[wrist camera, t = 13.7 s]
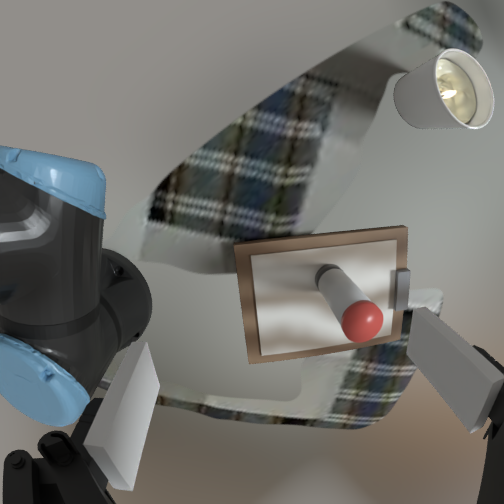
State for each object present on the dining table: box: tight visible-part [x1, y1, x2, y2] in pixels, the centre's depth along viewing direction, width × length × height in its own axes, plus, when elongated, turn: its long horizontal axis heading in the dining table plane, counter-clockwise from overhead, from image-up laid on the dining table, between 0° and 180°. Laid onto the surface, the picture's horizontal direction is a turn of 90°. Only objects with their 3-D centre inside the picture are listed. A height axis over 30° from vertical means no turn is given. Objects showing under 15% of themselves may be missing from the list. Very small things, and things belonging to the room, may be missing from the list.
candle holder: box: [394, 49, 494, 129], centre depth 30 cm, size 10×10×12 cm
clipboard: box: [234, 225, 410, 364], centre depth 42 cm, size 18×24×3 cm
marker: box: [315, 264, 383, 343], centre depth 34 cm, size 4×4×13 cm
